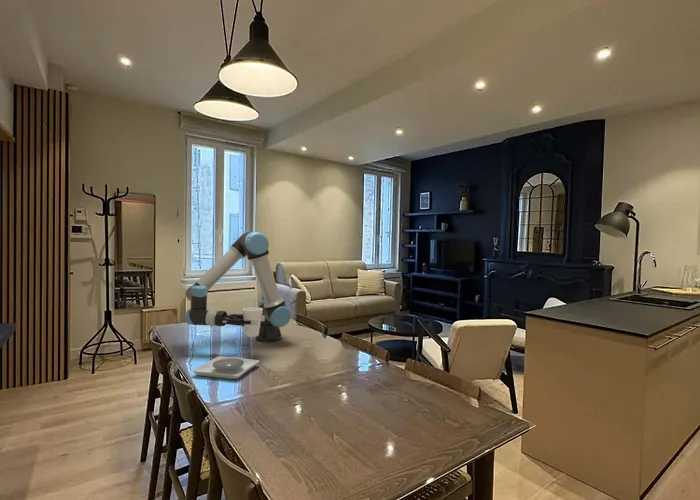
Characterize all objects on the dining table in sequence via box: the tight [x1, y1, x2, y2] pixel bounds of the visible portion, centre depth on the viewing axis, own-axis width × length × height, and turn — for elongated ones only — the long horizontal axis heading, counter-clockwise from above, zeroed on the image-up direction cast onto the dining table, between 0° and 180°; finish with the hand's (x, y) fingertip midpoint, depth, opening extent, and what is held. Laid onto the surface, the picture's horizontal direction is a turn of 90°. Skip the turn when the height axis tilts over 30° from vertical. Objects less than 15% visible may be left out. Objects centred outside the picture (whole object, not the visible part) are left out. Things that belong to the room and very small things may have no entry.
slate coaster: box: [213, 357, 244, 369], centre depth 168 cm, size 13×13×1 cm
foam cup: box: [242, 306, 263, 338], centre depth 189 cm, size 10×9×13 cm
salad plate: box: [192, 355, 260, 380], centre depth 168 cm, size 21×21×3 cm
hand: (261, 320), depth 188 cm, fingers closed on foam cup, 9 cm apart
